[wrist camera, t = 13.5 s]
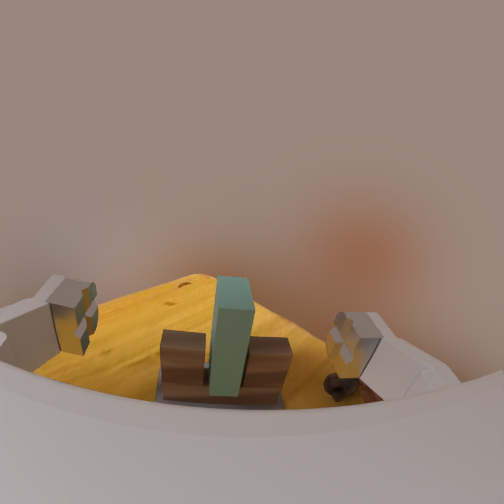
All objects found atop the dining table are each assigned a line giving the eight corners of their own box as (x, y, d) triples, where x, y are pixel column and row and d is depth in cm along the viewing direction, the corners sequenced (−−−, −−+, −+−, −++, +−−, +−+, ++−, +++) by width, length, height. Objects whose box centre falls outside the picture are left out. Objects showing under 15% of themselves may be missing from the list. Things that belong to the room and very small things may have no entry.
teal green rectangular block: (237, 396, 30) (255, 310, 25) (209, 395, 29) (218, 307, 25) (234, 360, 35) (248, 278, 31) (208, 359, 35) (217, 275, 30)
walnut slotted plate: (289, 434, 29) (312, 384, 26) (151, 430, 27) (143, 377, 23) (272, 368, 40) (287, 315, 37) (162, 361, 38) (160, 306, 34)
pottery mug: (364, 372, 42) (402, 353, 36) (370, 426, 36) (412, 413, 30) (305, 365, 38) (344, 343, 33) (308, 430, 32) (352, 419, 26)
